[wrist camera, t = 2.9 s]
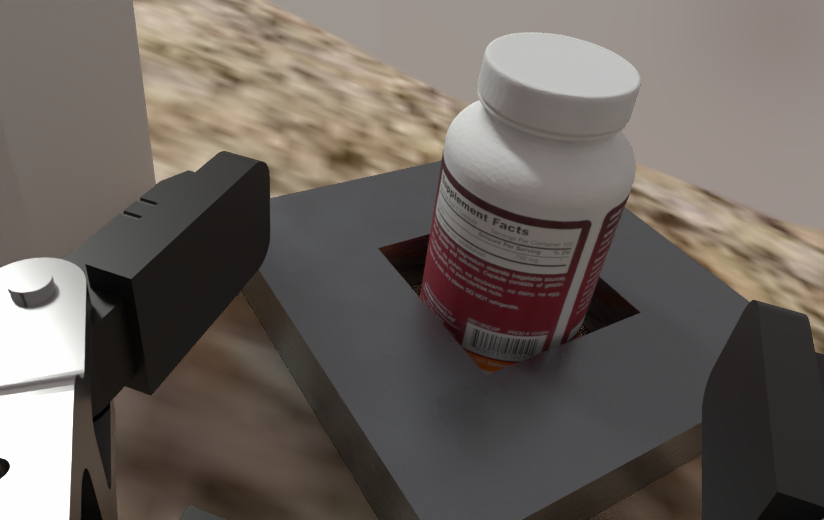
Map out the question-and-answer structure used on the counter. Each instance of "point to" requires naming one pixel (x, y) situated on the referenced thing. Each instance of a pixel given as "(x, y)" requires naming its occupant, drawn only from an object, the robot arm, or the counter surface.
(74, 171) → the milk carton
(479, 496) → the holder block
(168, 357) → the robot arm
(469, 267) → the pill bottle
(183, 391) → the counter surface
